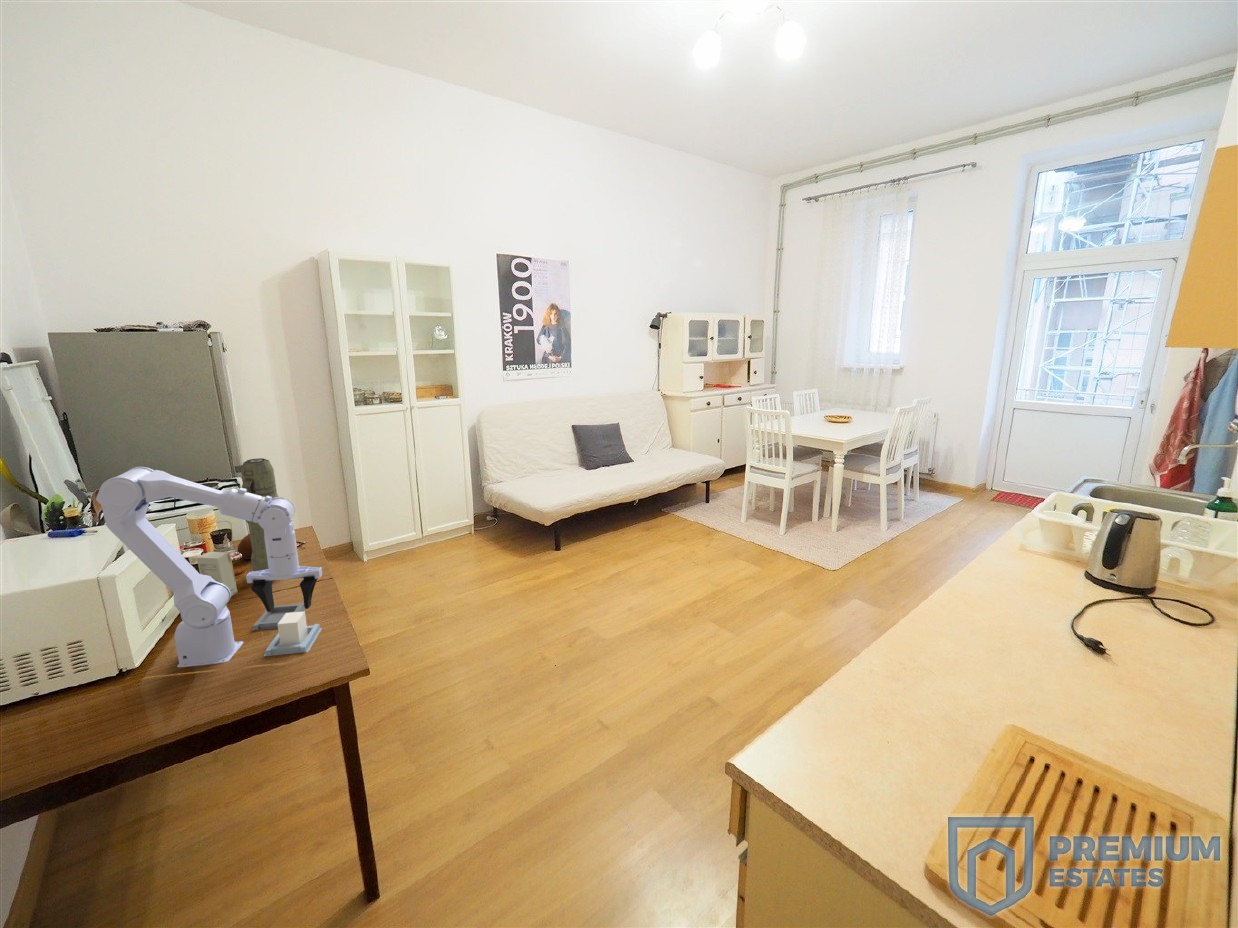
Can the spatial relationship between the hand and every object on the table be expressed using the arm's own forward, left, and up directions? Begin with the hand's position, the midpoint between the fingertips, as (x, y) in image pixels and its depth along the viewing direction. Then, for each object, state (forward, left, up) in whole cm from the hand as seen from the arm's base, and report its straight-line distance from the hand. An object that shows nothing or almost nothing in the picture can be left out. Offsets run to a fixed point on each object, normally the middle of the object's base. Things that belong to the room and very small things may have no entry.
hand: (289, 608), depth 118 cm
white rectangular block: (0, 0, -8) cm, 9 cm away
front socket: (0, 0, -9) cm, 9 cm away
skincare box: (-27, +28, -9) cm, 40 cm away
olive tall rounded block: (-19, +40, -9) cm, 45 cm away
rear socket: (-7, +12, -9) cm, 17 cm away
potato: (-29, +56, -9) cm, 64 cm away
